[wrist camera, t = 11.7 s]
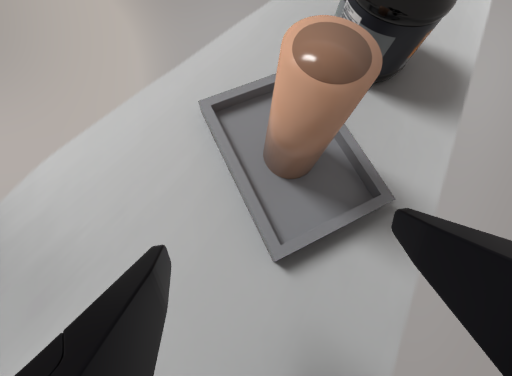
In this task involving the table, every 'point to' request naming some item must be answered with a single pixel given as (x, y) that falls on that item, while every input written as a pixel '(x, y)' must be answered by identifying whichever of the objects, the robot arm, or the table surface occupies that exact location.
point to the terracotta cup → (316, 90)
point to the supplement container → (395, 26)
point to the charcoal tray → (290, 190)
